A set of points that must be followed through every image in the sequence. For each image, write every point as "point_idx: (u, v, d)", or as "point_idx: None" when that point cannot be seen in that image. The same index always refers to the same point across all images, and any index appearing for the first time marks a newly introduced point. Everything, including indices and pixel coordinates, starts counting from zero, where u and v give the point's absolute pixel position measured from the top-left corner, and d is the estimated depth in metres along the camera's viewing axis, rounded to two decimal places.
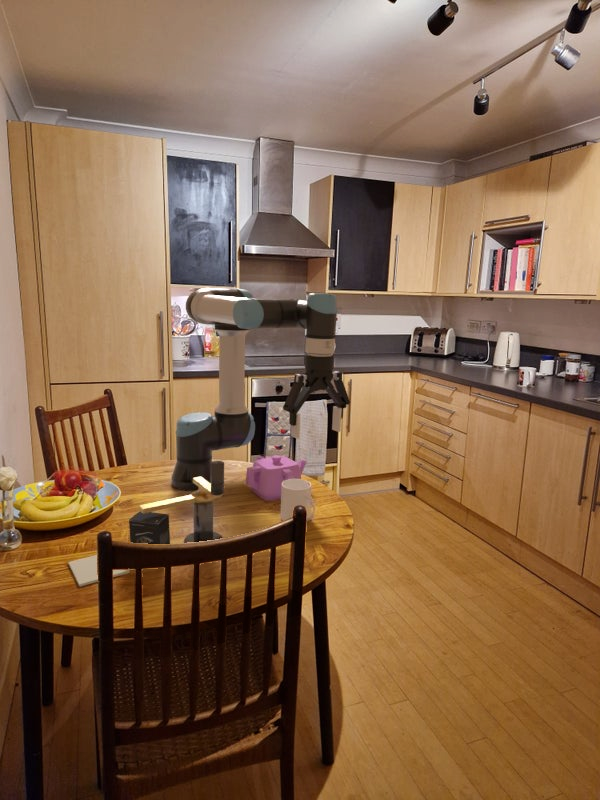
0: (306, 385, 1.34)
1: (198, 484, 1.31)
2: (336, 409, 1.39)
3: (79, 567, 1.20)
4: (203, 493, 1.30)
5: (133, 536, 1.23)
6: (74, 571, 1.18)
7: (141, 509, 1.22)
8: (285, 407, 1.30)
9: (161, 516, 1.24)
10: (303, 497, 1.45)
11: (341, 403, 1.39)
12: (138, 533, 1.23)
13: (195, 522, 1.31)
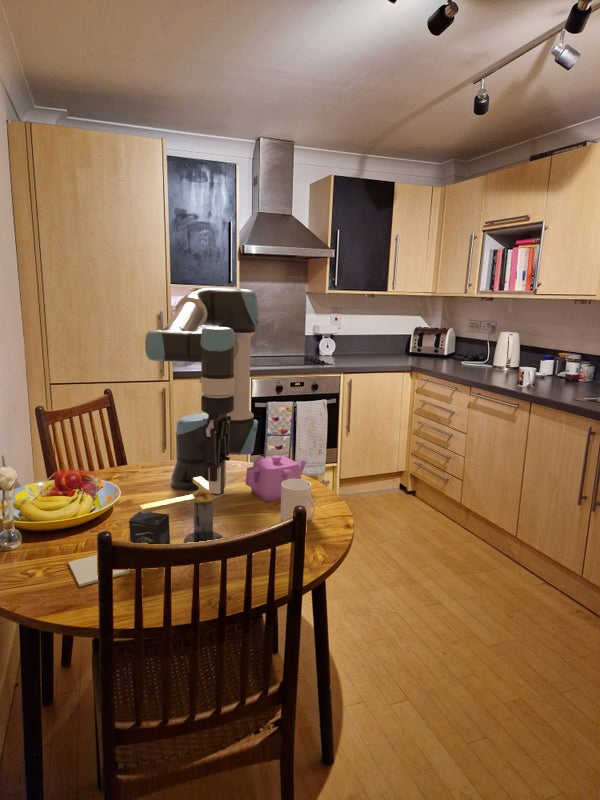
0: None
1: (198, 484, 1.31)
2: None
3: (79, 567, 1.20)
4: (203, 493, 1.30)
5: (133, 536, 1.23)
6: (74, 571, 1.18)
7: (141, 509, 1.22)
8: None
9: (161, 516, 1.24)
10: (303, 497, 1.45)
11: None
12: (138, 533, 1.23)
13: (195, 522, 1.31)
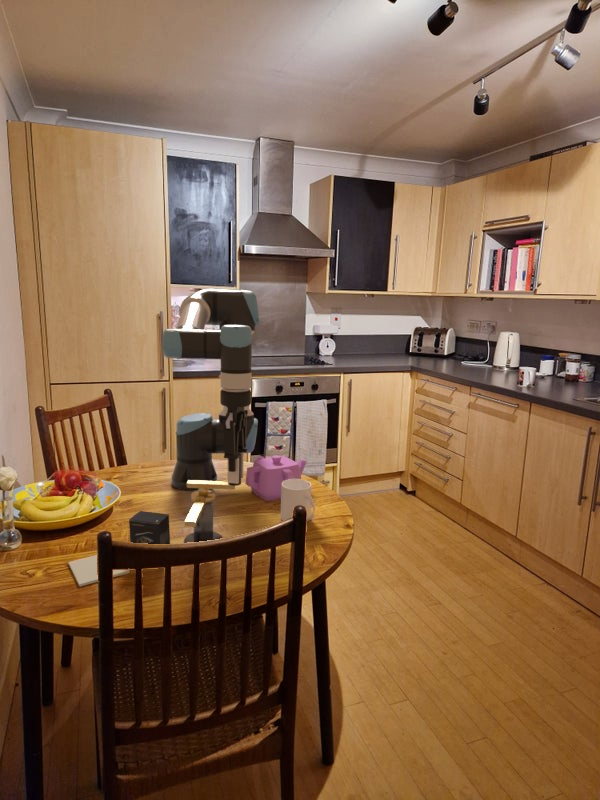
0: None
1: (200, 485, 1.30)
2: None
3: (79, 567, 1.20)
4: (207, 492, 1.31)
5: (133, 536, 1.23)
6: (74, 571, 1.18)
7: (190, 523, 1.16)
8: None
9: (161, 516, 1.24)
10: (303, 497, 1.45)
11: None
12: (138, 533, 1.23)
13: None
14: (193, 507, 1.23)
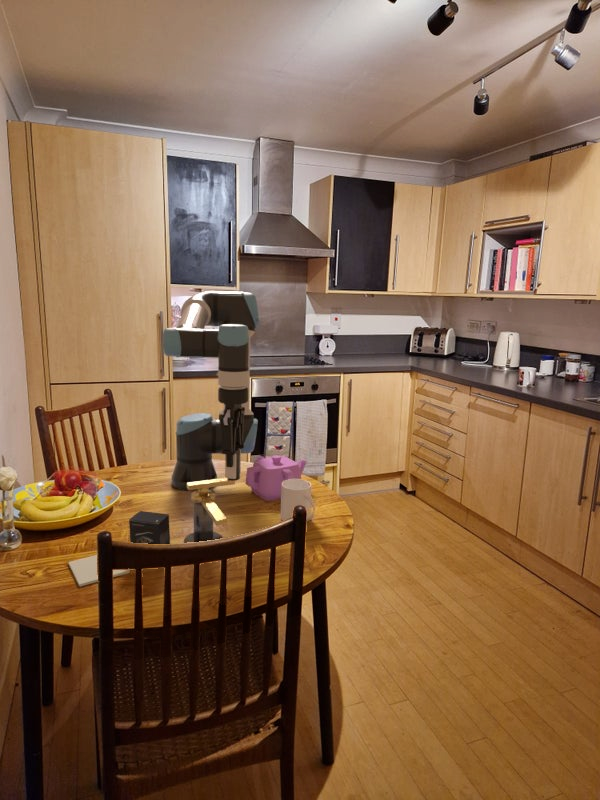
0: None
1: (202, 486, 1.30)
2: None
3: (79, 567, 1.20)
4: (208, 491, 1.31)
5: (133, 536, 1.23)
6: (74, 571, 1.18)
7: (222, 521, 1.18)
8: None
9: (161, 516, 1.24)
10: (303, 497, 1.45)
11: None
12: (138, 533, 1.23)
13: (195, 522, 1.31)
14: (209, 507, 1.24)
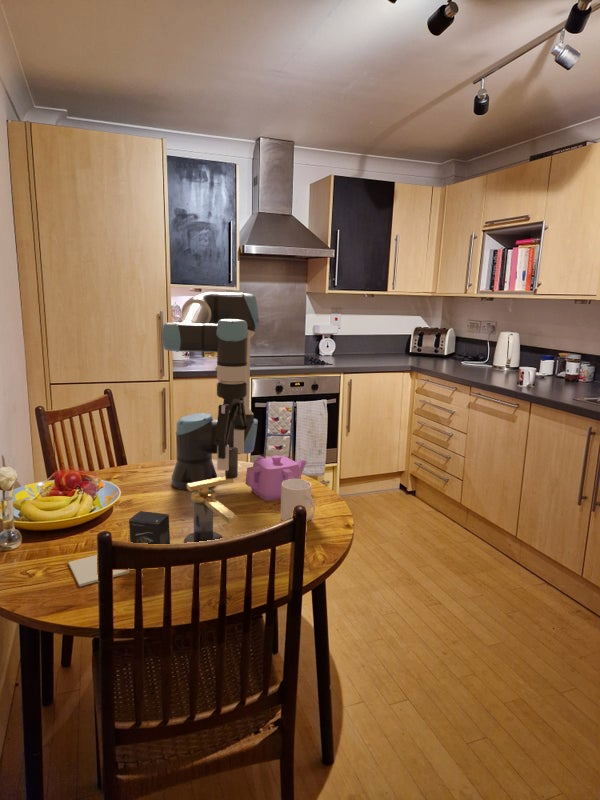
0: None
1: (203, 486, 1.30)
2: None
3: (79, 567, 1.20)
4: (208, 491, 1.32)
5: (133, 536, 1.23)
6: (74, 571, 1.18)
7: (234, 519, 1.19)
8: None
9: (161, 516, 1.24)
10: (303, 497, 1.45)
11: None
12: (138, 533, 1.23)
13: (195, 522, 1.31)
14: (215, 506, 1.25)
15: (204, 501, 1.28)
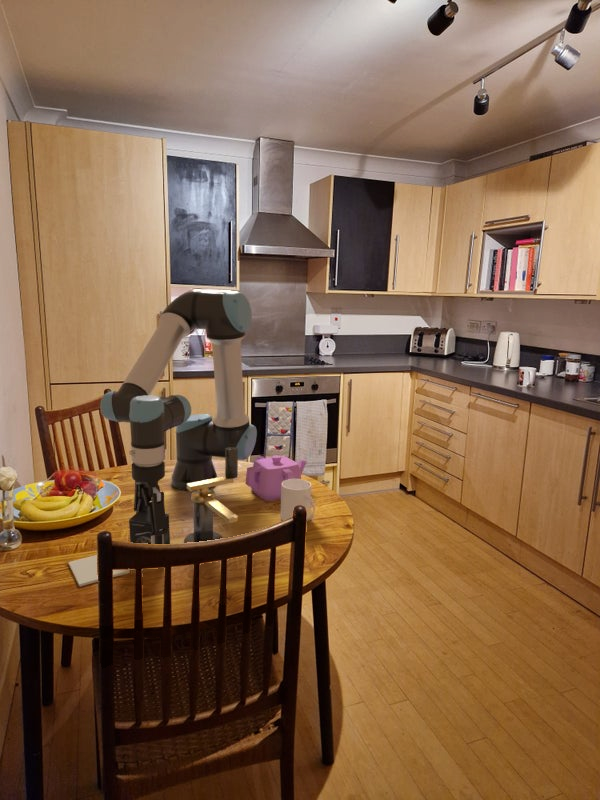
0: None
1: (203, 486, 1.30)
2: None
3: (79, 567, 1.20)
4: (208, 491, 1.32)
5: (133, 536, 1.23)
6: (74, 571, 1.18)
7: (234, 519, 1.19)
8: None
9: None
10: (303, 497, 1.45)
11: (152, 529, 1.19)
12: (138, 532, 1.23)
13: (195, 522, 1.31)
14: (215, 506, 1.25)
15: (204, 501, 1.28)
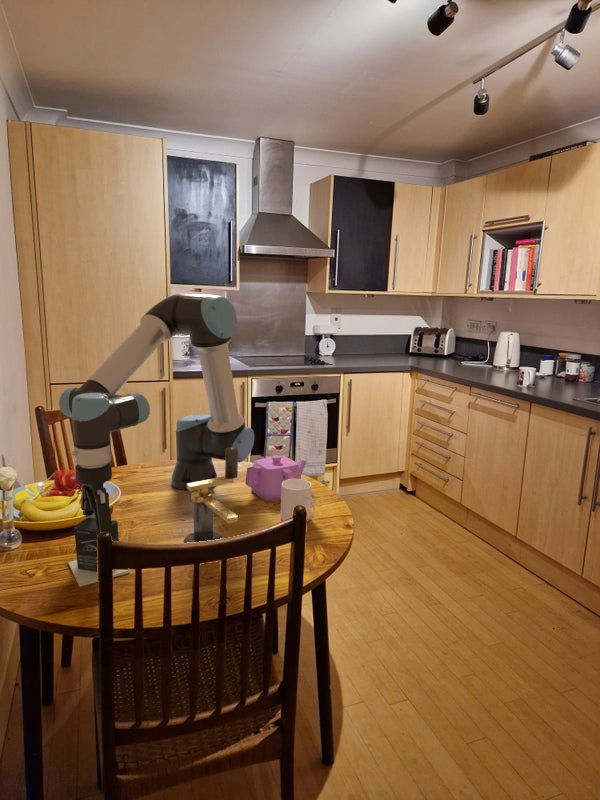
0: None
1: (203, 486, 1.30)
2: None
3: None
4: (208, 491, 1.32)
5: (79, 544, 1.17)
6: (74, 571, 1.18)
7: (234, 519, 1.19)
8: None
9: None
10: (303, 497, 1.45)
11: (98, 533, 1.12)
12: (83, 540, 1.17)
13: (195, 522, 1.31)
14: (215, 506, 1.25)
15: (204, 501, 1.28)
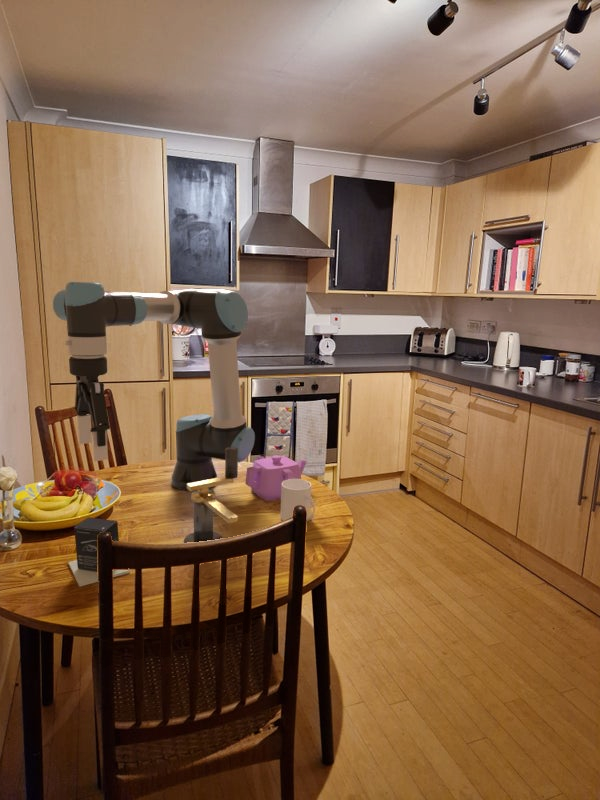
0: None
1: (203, 486, 1.30)
2: None
3: None
4: (208, 491, 1.32)
5: (79, 544, 1.17)
6: (74, 571, 1.18)
7: (234, 519, 1.19)
8: None
9: (108, 523, 1.18)
10: (303, 497, 1.45)
11: (93, 425, 1.06)
12: (83, 540, 1.17)
13: (195, 522, 1.31)
14: (215, 506, 1.25)
15: (204, 501, 1.28)
